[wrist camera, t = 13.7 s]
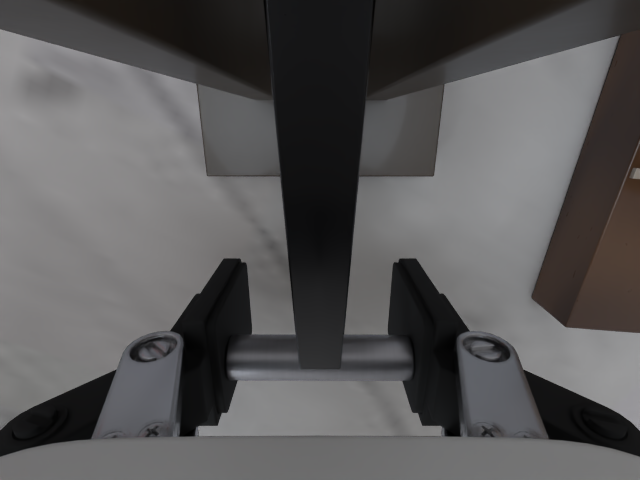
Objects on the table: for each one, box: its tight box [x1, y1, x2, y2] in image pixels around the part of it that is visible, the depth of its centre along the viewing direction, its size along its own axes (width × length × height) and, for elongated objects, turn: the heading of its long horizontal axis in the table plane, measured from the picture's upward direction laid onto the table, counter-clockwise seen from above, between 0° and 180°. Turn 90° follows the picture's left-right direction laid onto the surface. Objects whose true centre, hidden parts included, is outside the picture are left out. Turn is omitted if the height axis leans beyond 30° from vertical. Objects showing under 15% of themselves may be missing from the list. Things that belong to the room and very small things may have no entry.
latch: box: [225, 0, 415, 381], centre depth 6 cm, size 12×5×2 cm, turn 178°
